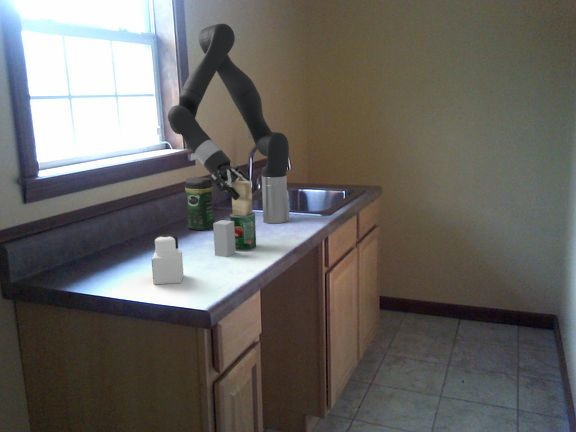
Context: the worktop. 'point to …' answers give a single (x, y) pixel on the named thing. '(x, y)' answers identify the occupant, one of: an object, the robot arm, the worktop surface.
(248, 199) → the maple block
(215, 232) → the grey block
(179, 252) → the medicine bottle
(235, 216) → the canned tomato
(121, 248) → the worktop surface
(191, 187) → the coffee jar
